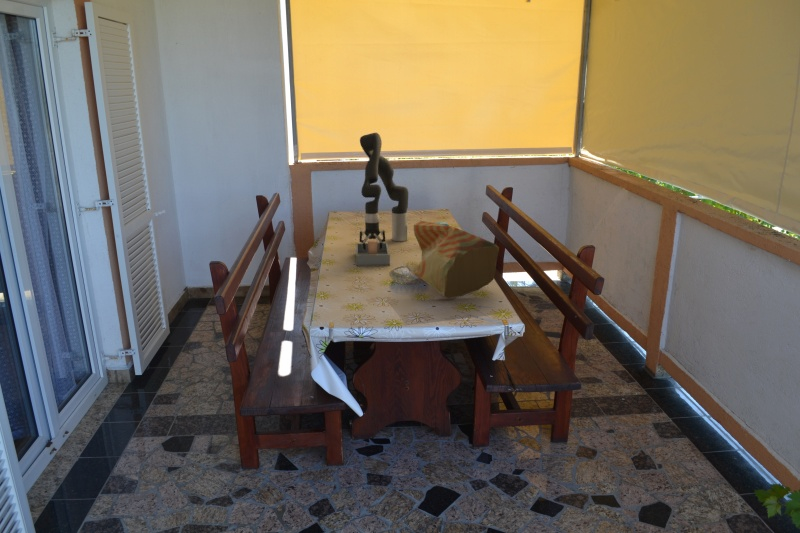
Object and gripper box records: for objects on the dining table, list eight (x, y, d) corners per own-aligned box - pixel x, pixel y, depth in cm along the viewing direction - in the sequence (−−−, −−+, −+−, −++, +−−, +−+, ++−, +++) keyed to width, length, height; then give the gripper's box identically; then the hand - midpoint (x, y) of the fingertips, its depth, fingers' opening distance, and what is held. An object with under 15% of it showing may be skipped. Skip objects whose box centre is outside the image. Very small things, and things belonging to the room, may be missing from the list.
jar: (377, 256, 358) (377, 240, 355) (377, 258, 353) (377, 243, 350) (368, 256, 357) (367, 240, 354) (368, 258, 352) (367, 243, 350)
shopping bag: (467, 234, 276) (405, 203, 301) (437, 300, 281) (378, 263, 306) (509, 249, 304) (448, 219, 329) (480, 308, 309) (423, 274, 334)
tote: (387, 252, 367) (387, 242, 365) (389, 265, 344) (389, 254, 342) (356, 253, 366) (355, 243, 364) (356, 266, 343) (356, 255, 341)
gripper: (384, 218, 352) (385, 247, 357) (358, 219, 351) (359, 247, 356) (385, 222, 345) (385, 250, 350) (359, 222, 344) (359, 251, 349)
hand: (372, 249), depth 353 cm, fingers open, 8 cm apart
